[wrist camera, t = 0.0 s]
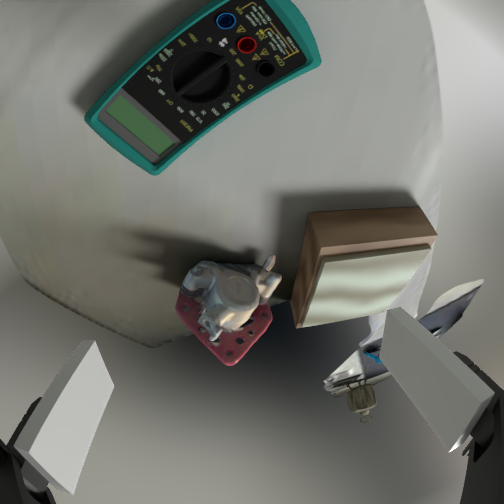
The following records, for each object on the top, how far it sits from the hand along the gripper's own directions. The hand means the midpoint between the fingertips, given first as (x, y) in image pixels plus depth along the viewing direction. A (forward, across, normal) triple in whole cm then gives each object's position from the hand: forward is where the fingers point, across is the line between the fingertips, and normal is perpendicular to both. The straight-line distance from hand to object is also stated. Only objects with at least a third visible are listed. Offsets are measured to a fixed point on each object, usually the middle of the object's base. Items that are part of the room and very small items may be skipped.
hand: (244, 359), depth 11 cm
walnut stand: (+22, +15, -4) cm, 27 cm away
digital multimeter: (+9, -1, +15) cm, 17 cm away
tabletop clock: (+92, +58, -99) cm, 147 cm away
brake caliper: (+22, -1, -4) cm, 22 cm away
